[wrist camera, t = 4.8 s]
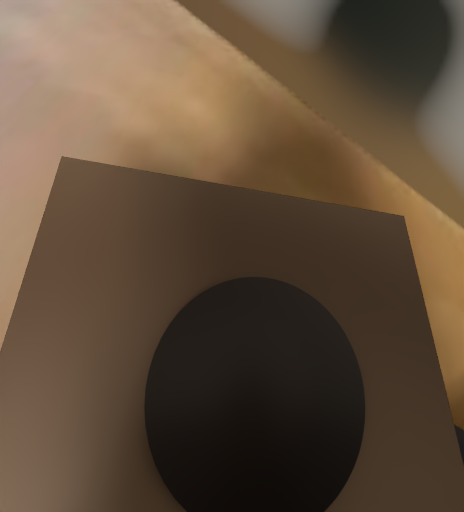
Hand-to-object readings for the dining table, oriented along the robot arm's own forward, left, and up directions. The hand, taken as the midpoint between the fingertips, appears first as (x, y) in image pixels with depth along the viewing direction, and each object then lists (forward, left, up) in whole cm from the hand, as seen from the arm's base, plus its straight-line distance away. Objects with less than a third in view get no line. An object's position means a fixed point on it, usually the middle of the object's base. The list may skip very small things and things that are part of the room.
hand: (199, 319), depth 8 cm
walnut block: (-1, -1, -7) cm, 7 cm away
